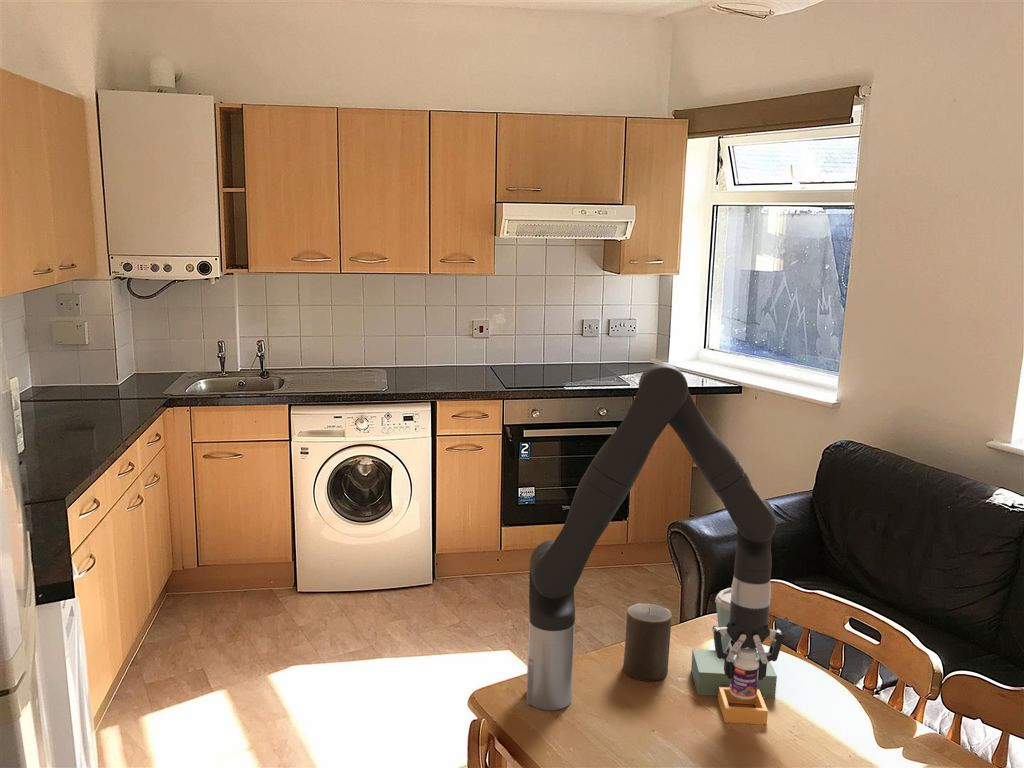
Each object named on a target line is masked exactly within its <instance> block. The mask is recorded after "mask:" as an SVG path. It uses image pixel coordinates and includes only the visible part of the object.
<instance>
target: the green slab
mask: <svg viewBox="0 0 1024 768" xmlns="http://www.w3.org/2000/svg"><path fill="white" fill-rule="evenodd" d="M691 653H692V654H691V674H692V678H693V682H694V686H695V690H696V692H697V695H702V696H703V695H707V696H717V701H718V705H719V708H720V711H722V712H721V715H722V718H723V721H724V723H728V722H729V723H730V724H746V723H747V725H748V724H749V723H750V725H764V724H765V726H767V725H768V713H769V710H768V708H767V705H766V703H765V700H764V699H776V693H777V692H776V691H777V690H776V689H777V678H778V677H777V674H776V671H775V669H774V667H773V665H772V663H771V661H769V662H768V663H767V670H766V676H765V677H763V680H758V687H757V695H756V697H755V698H753V699H740V698H737V697H735V696H733V695H732V694H731V692H730V679H728V677H727V676H726V675H725V672H724V659H719V658H718V657H717V653H716V651H715V650H714V649H713V650H712V649H696V648H695V649H694V648H693V649H692V652H691ZM735 655H736V654H735ZM756 658H757V659H758V658H760V657H759V654H758V652H757V656H756ZM743 703H744V704H745V705H746V704H747V705H754V706H755V707H746V706H745V707H744V706H743V707H742V706H730V705H729V704H743ZM729 723H728V724H729Z"/></svg>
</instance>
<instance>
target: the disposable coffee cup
mask: <svg viewBox="0 0 1024 768" xmlns="http://www.w3.org/2000/svg"><path fill="white" fill-rule="evenodd" d="M731 588H732V587H727V588H725V589H722V590H720V591H719V593H717V595H716V596H715V600H714V602H715V606H716V618H717V626H718V628H719V627H726V625H727V624H728V622H729V615H730V601H731ZM730 639H731V637H730V636H729V634H728V633H726V634H725V636H724V638H723V639H721V641H722V648H723V650H726V649H727V647H728V643H729V641H730Z"/></svg>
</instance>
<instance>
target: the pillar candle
mask: <svg viewBox="0 0 1024 768" xmlns="http://www.w3.org/2000/svg"><path fill="white" fill-rule="evenodd" d="M626 614H627V615H626V625H625V640H624V641H625V642H624V654H623V664H622V665H623V666H622V667H623V671H624V672H625V674H626V675H628V676H629V677H631V678H633V679H635V680H639V681H643V682H656V681H660V680H663V679H665V678H666V677H667V676H668V672H669V657H670V643H671V633H672V632H671V630H672V617H673V616H672V612H671V610H670V609H668V608H666V607H663V606H661V605H658V604H652V603H636V604H633V605H631V606H629V607H628V608H627V613H626ZM666 675H667V676H666ZM664 677H665V678H664Z"/></svg>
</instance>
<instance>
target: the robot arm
mask: <svg viewBox="0 0 1024 768" xmlns="http://www.w3.org/2000/svg"><path fill="white" fill-rule="evenodd" d="M687 381H688V380H687V379H686V377H685V375H684V373H682V371H681V370H680V369H679V368H678V367H676V366H674V365H672V364H669V363H664V362H660V363H655V364H652V365H650V366H648V367H647V368H645V369H644V371H643V372H642V374H641V375H640V378H639V380H638V390H637V392H636V394H635V396H634V399H633V401H632V403H631V405H630V407H629V408H628V411H627V413H626V415H625V417H624V419H623V420H622V421H621V423H620V425H619V426H618V427H617V428H616V429H615V431H614V432H613V433H612V434H611V435H610V436H609V438H608V439H607V440H606V441H605V442H604V443H603V445H602V446H601V447H600V449H599V450H598V452H597V453H596V454H595V456H594V457H593V459H592V461H591V462H590V464H589V465H588V467H587V469H586V471H585V472H584V474H583V475H582V477H581V479H580V481H579V483H578V485H577V488H576V489H575V493H574V496H573V499H572V501H571V504H570V507H569V511H568V514H567V517H566V520H565V521H564V524H563V526H562V527H561V528H562V529H560V531H559V532H558V533H559V534H558V535H557V536H556V538H555V539H551V540H546V541H543V542H541V543H539V544H538V545H537V546H536V547H535V548H534V550H533V551H532V553H531V556H530V560H529V583H528V585H529V587H528V588H529V589H528V603H529V605H528V606H529V616H528V617H529V621H528V622H529V625H528V653H527V654H528V656H527V668H526V669H527V672H526V673H527V674H526V705H527V706H533V707H535V708H537V709H540V710H544V711H557V710H561V709H564V708H567V707H568V706H569V705H571V703H572V700H573V699H572V698H573V679H574V678H573V677H574V676H573V675H574V651H575V650H574V649H575V647H574V646H575V625H576V624H575V623H576V622H575V621H576V605H575V587H576V585H577V584H578V582H579V579H580V577H581V575H582V573H583V571H584V568H585V566H586V564H587V563H588V559H589V558H590V556H591V554H592V551H594V548H595V546H596V544H597V542H598V541H599V539H600V538H601V536H602V535H603V534H604V532H605V531H606V529H607V527H608V526H609V525H610V522H611V521H612V520H613V518H614V517H615V515H616V513H617V511H618V510H619V508H620V507H621V505H622V504H623V502H624V501H625V500H626V498H627V496H628V494H629V493H630V491H631V490H632V488H633V486H634V484H635V482H636V481H637V479H638V477H639V476H640V475H639V474H640V473H641V472H642V470H643V468H644V465H645V463H646V461H647V460H648V458H649V455H650V453H651V450H652V448H653V447H654V445H655V443H656V441H657V439H658V438H659V437H660V435H661V434H662V432H663V431H664V430H665V428H666V427H667V426H668V425H669V426H670V427H671V429H672V430H673V431H674V432H675V434H676V436H678V438H679V439H680V441H681V442H682V444H683V446H684V448H685V449H686V451H687V452H688V455H689V456H690V457H691V458H692V460H693V462H694V464H695V466H696V467H697V469H698V470H699V472H700V473H701V475H702V477H704V479H705V480H706V482H707V483H708V485H709V486H710V487H711V489H712V490H713V492H714V493H715V494H716V495H717V497H718V498H719V499H720V500H721V502H722V504H723V505H724V507H725V510H726V511H727V513H728V515H729V517H730V519H731V520H732V522H733V524H734V525H735V527H736V530H737V531H736V532H737V533H736V536H737V537H736V538H737V539H736V540H737V542H736V543H737V544H736V552H735V558H734V565H733V566H734V567H733V578H732V583H731V587H730V588H731V601H730V615H729V622H728V624H727V625H726V627H719V628H718V625H713V626H712V627H711V628H712V636H713V643H714V647H715V648H714V649H715V651H716V653H717V657H718V658H719V659H724V672H725V675H726V676H727V677H728V679H732V672H733V661H732V660H733V658H734V656H735V654H737V653H738V651H739V649H740V648H751V649H757V653H758V654H759V657H760V658H758V661H759V676H758V680H763V677H765V676H766V670H767V663H768V662H769V661H770V662H771V661H772V662H777V660H778V657H779V655H780V651H781V647H782V645H783V644H782V643H783V641H784V638H785V637H784V634H783V632H782V631H781V629H780V628H775V629H771V628H770V627H769V619H770V605H771V601H772V596H771V595H772V585H771V576H772V567H773V566H772V565H773V563H772V562H773V561H772V560H773V559H772V558H773V557H772V550H771V548H772V538H773V535H774V534H775V533H776V529H777V519H776V514H775V510H774V508H773V506H772V505H771V503H770V502H769V501H767V500H766V499H765V498H763V497H760V496H759V494H757V493H758V492H756V490H755V489H754V486H753V484H752V482H751V480H750V478H749V476H748V474H747V473H746V471H745V470H744V468H743V466H742V465H741V463H739V461H738V460H737V458H736V456H735V455H734V454H733V453H732V452H731V450H730V449H729V448H728V446H727V445H726V443H724V441H723V440H722V439H721V438H720V437H719V435H718V434H717V433H716V432H715V430H714V429H713V428H712V427H711V425H710V424H709V422H708V421H707V419H705V417H704V416H703V414H702V412H701V411H700V409H699V408H698V407H697V405H696V403H695V401H694V399H693V397H692V395H691V393H690V391H689V385H688V382H687ZM726 633H728V634H729V636H730V637H731V639H730V641H729V643H728V647H727V649H726V650H723V648H722V641H721V639H723V638H724V636H725V634H726ZM769 636H770V639H771V642H770V647H769V649H768V651H767V652H765V649H764V646H763V643H764V642H765V640H767V639H768V637H769Z"/></svg>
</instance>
